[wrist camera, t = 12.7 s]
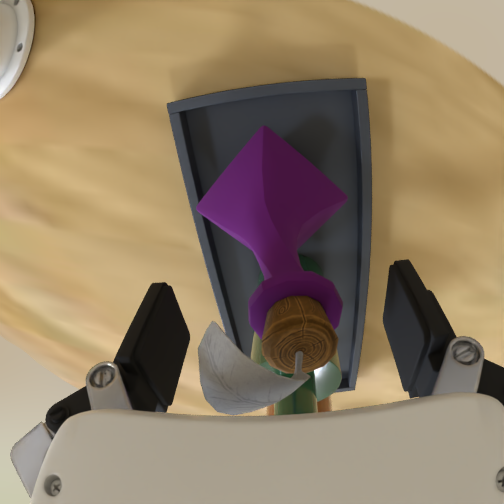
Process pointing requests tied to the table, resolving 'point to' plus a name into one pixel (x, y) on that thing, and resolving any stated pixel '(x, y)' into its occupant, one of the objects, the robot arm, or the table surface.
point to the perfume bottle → (272, 274)
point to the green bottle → (320, 379)
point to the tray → (315, 151)
